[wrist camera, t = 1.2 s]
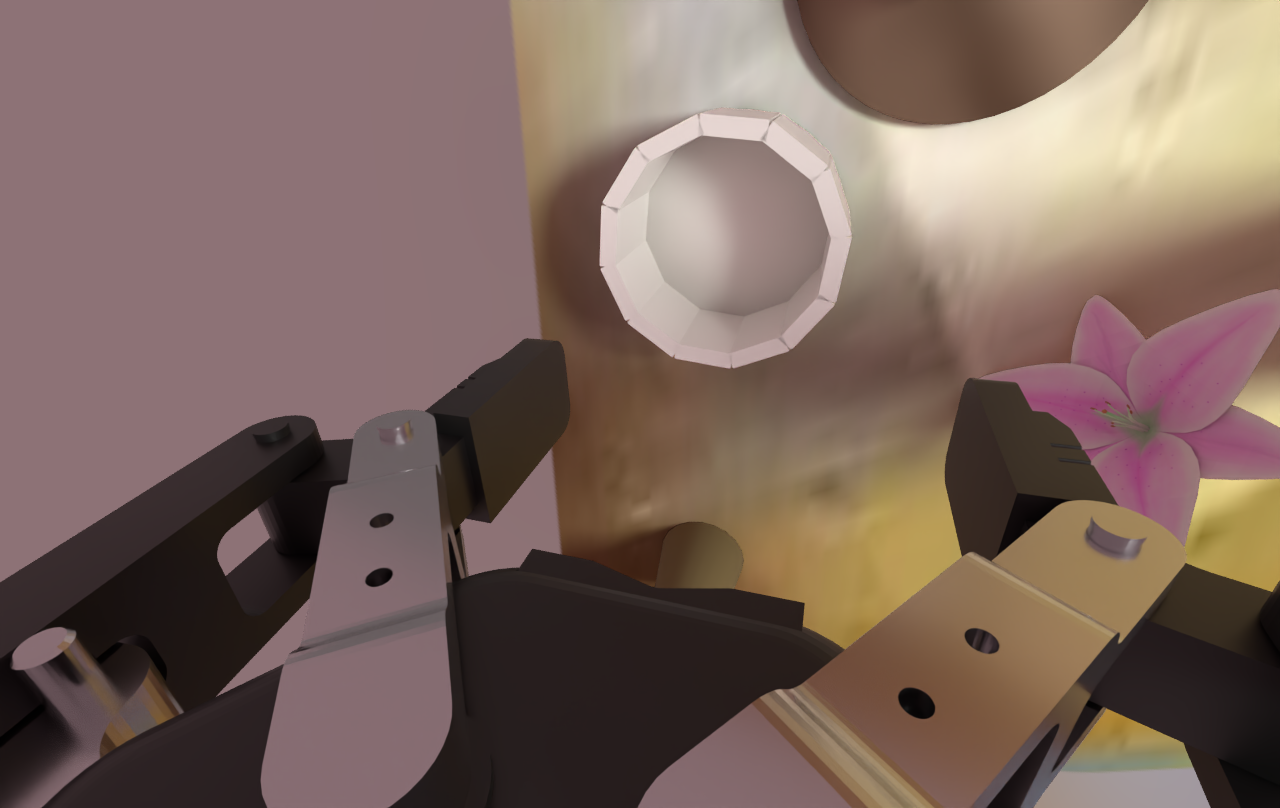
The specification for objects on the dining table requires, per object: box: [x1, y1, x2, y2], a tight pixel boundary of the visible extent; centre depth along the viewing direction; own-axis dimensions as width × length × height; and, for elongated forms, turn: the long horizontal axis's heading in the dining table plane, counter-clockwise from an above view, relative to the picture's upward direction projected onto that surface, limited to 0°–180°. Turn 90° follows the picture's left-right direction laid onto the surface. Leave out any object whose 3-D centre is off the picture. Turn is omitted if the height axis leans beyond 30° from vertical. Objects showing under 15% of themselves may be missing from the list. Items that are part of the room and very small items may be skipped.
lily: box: [978, 289, 1280, 547], centre depth 27 cm, size 12×12×10 cm
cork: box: [655, 522, 744, 589], centre depth 38 cm, size 6×6×11 cm
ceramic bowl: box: [600, 107, 852, 369], centre depth 29 cm, size 11×11×6 cm
